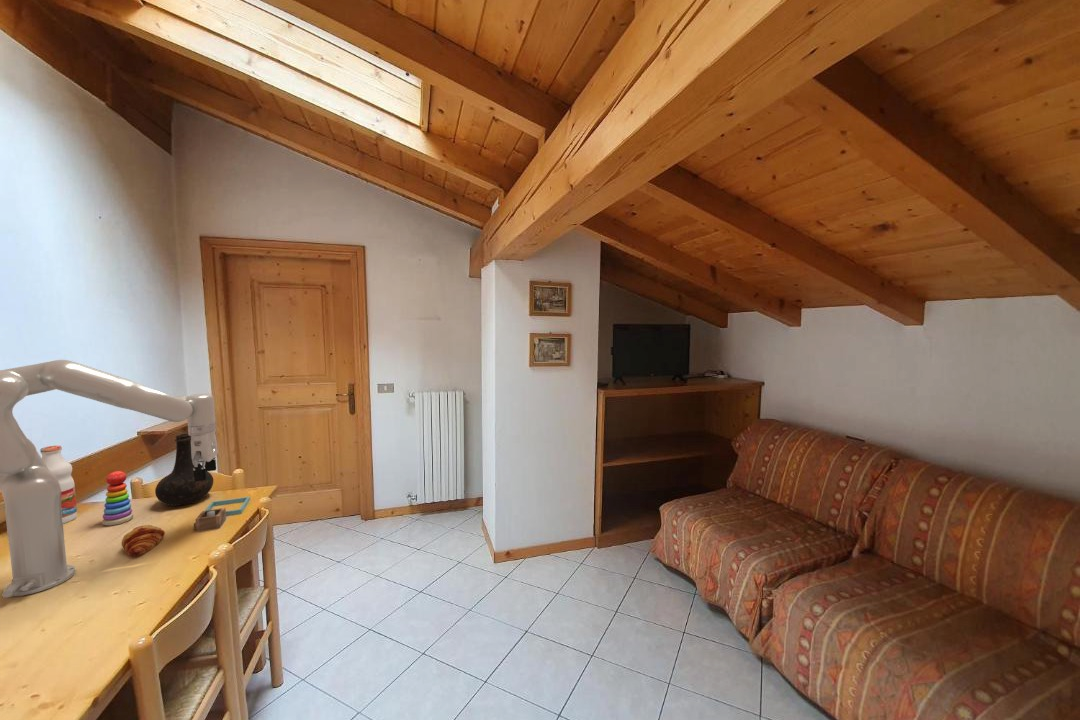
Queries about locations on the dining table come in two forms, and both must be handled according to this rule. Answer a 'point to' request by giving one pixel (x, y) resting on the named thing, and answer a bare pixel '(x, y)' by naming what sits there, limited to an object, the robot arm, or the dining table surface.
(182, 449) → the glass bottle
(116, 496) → the stacking toy
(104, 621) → the dining table surface
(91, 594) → the dining table surface
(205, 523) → the collar
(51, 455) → the fruit juice
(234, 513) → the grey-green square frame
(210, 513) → the stake
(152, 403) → the robot arm
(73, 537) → the dining table surface
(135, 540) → the croissant
